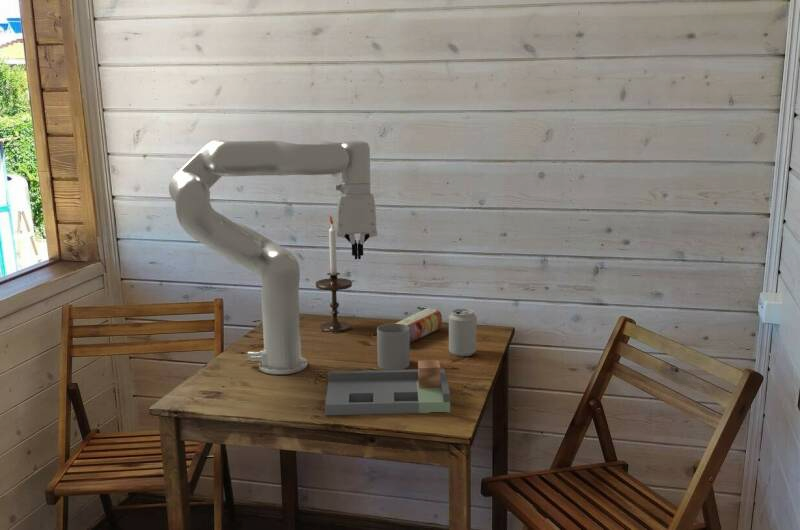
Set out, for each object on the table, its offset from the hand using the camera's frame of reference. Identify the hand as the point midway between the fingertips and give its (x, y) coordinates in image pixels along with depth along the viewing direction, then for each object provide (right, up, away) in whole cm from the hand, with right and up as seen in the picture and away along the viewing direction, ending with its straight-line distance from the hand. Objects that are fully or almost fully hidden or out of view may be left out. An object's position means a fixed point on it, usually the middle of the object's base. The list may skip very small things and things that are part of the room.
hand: (357, 258), depth 215 cm
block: (+18, -30, -23) cm, 42 cm away
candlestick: (-8, -21, +30) cm, 38 cm away
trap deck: (+8, -33, -26) cm, 43 cm away
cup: (+10, -28, -2) cm, 30 cm away
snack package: (+15, -23, +21) cm, 35 cm away
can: (+28, -26, +7) cm, 39 cm away
